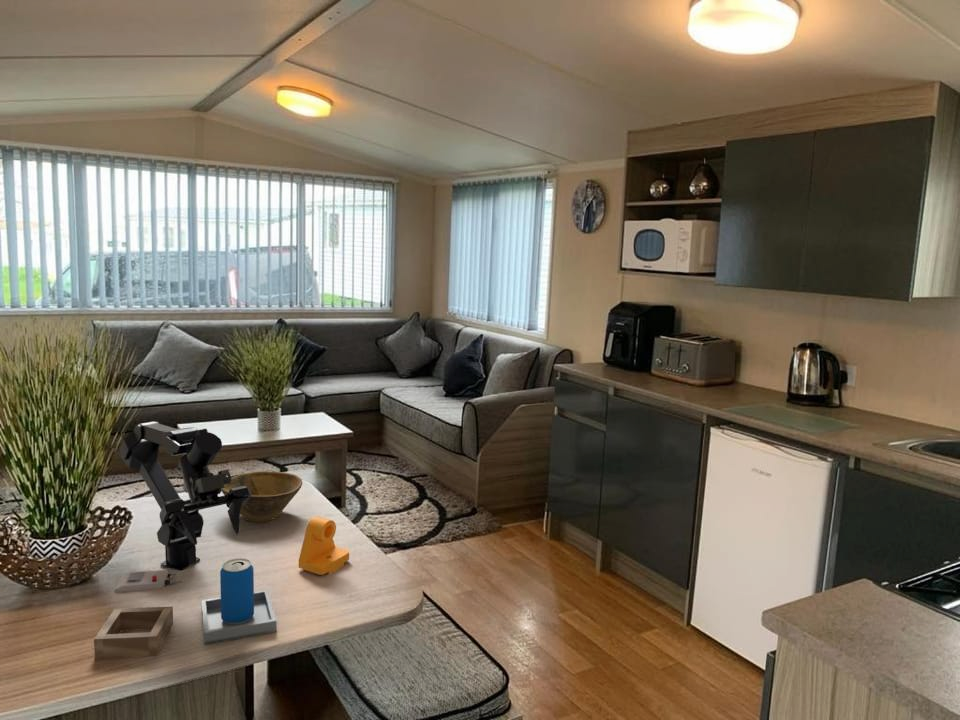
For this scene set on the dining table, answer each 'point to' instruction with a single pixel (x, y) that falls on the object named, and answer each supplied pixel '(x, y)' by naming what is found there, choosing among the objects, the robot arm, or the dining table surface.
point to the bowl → (265, 493)
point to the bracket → (321, 548)
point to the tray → (254, 626)
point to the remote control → (144, 580)
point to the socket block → (134, 644)
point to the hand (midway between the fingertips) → (217, 538)
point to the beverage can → (237, 591)
